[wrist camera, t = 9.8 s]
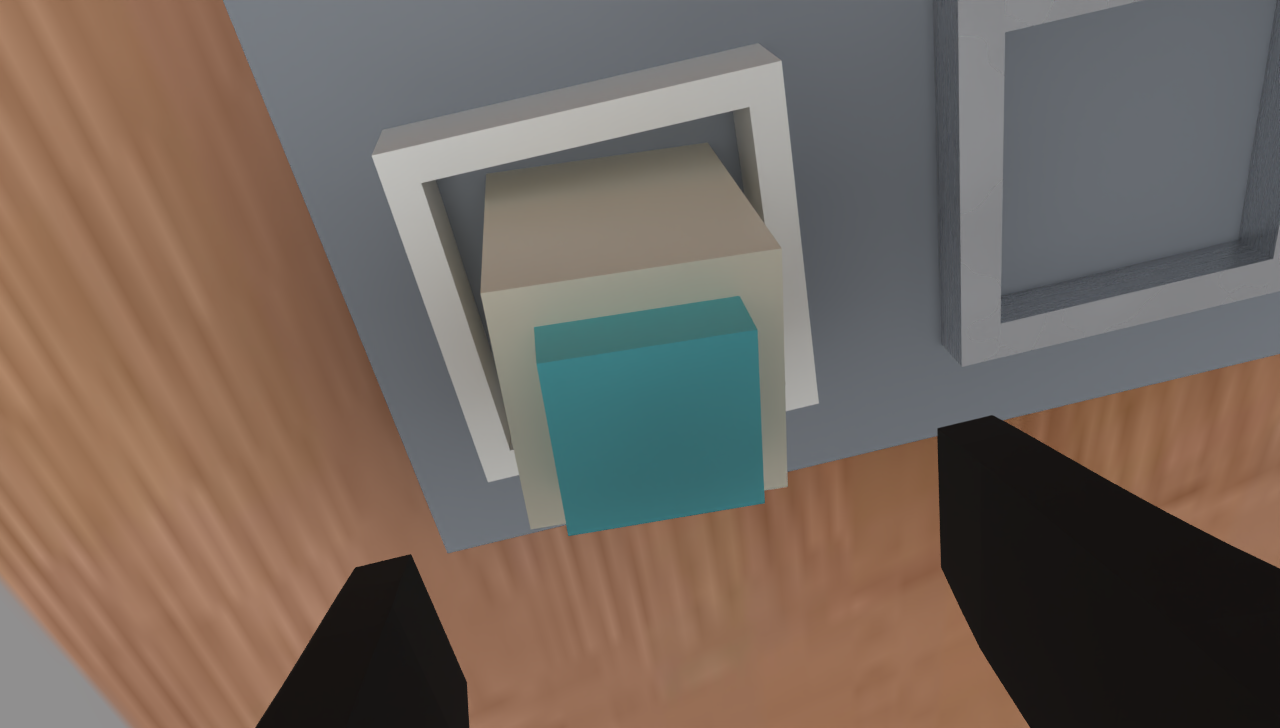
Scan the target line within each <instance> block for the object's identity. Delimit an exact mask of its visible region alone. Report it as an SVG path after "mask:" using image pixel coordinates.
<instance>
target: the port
mask: <svg viewBox="0 0 1280 728" xmlns="http://www.w3.org/2000/svg"><path fill="white" fill-rule="evenodd" d="M730 111H733V116H734V123H735V130H736V138H737V145H738V152H739V159H740V166H741V173H742V180H743V188H744V195H745V197H746V198H747V199H748V201H749V202H750V204H751V205H752V207H753V208H754V209H755V211H756V212H757V214H758V215H759V216H760V218H761V219H762V221H763V222H764V224H765V225H766V226H767V228H768V229H769V231H770V232H771V234H772V235H773V236H774V238H775V239H776V241H777V242H778V244H779V245H780V246H781V248H782V276H783V317H784V358H785V399H786V411H789V410H794V409H798V408H802V407H806V406H810V405H815V404H819V400H818V391H817V381H816V372H815V363H814V354H813V345H812V335H811V326H810V317H809V308H808V299H807V289H806V280H805V271H804V262H803V253H802V243H801V234H800V225H799V216H798V207H797V198H796V188H795V179H794V170H793V161H792V152H791V142H790V133H789V124H788V115H787V106H786V96H785V87H784V78H783V69H782V61H781V60H780V59H779V58H777V57H776V56H775V55H773V54H772V53H771V52H769V51H768V50H767V49H765V48H764V47H763V46H761V45H760V44H759V43H757V44H752V45H748V46H744V47H739V48H735V49H731V50H726V51H722V52H718V53H713V54H709V55H705V56H700V57H696V58H692V59H687V60H683V61H679V62H674V63H670V64H666V65H661V66H657V67H653V68H648V69H644V70H640V71H635V72H631V73H627V74H622V75H618V76H614V77H609V78H605V79H601V80H596V81H592V82H588V83H583V84H579V85H575V86H570V87H566V88H562V89H557V90H553V91H549V92H544V93H540V94H536V95H531V96H527V97H523V98H518V99H514V100H510V101H505V102H501V103H497V104H492V105H488V106H484V107H479V108H475V109H471V110H466V111H462V112H458V113H453V114H449V115H445V116H440V117H436V118H432V119H427V120H423V121H419V122H414V123H410V124H406V125H401V126H397V127H393V128H388V129H384V130H382V132H381V135H380V137H379V139H378V142H377V144H376V146H375V149H374V151H373V154H372V158H373V161H374V164H375V167H376V169H377V172H378V175H379V178H380V181H381V183H382V186H383V189H384V192H385V195H386V197H387V200H388V203H389V206H390V209H391V211H392V214H393V217H394V220H395V223H396V226H397V228H398V231H399V234H400V237H401V240H402V242H403V245H404V248H405V251H406V254H407V256H408V259H409V262H410V265H411V268H412V270H413V273H414V276H415V279H416V282H417V284H418V287H419V290H420V293H421V296H422V299H423V301H424V304H425V307H426V310H427V313H428V315H429V318H430V321H431V324H432V327H433V329H434V332H435V335H436V338H437V341H438V343H439V346H440V349H441V352H442V355H443V357H444V360H445V363H446V366H447V369H448V372H449V374H450V377H451V380H452V383H453V386H454V388H455V391H456V394H457V397H458V400H459V402H460V405H461V408H462V411H463V414H464V416H465V419H466V422H467V425H468V428H469V430H470V433H471V436H472V439H473V442H474V445H475V447H476V450H477V453H478V456H479V459H480V461H481V464H482V467H483V470H484V473H485V475H486V478H487V481H488V482H492V481H496V480H500V479H504V478H509V477H513V476H517V475H519V472H518V467H517V463H516V458H515V453H514V449H513V444H512V439H511V435H510V430H509V425H508V421H507V416H506V411H505V406H504V402H503V397H502V392H501V388H500V383H499V378H498V374H497V369H496V365H495V362H494V359H493V356H492V353H491V350H490V347H489V344H488V340H487V337H486V334H485V331H484V328H483V325H482V322H481V319H480V316H479V313H478V309H477V306H476V303H475V300H474V297H473V294H472V291H471V288H470V285H469V282H468V279H467V275H466V272H465V269H464V266H463V263H462V260H461V257H460V254H459V251H458V248H457V244H456V241H455V238H454V235H453V232H452V229H451V226H450V223H449V220H448V217H447V214H446V210H445V207H444V204H443V201H442V198H441V195H440V192H439V189H438V186H437V183H436V180H437V179H441V178H445V177H450V176H454V175H458V174H463V173H467V172H471V171H475V170H480V169H484V168H488V167H493V166H497V165H501V164H506V163H510V162H514V161H518V160H523V159H527V158H531V157H536V156H540V155H544V154H549V153H553V152H557V151H562V150H566V149H570V148H574V147H579V146H583V145H587V144H592V143H596V142H600V141H605V140H609V139H613V138H618V137H622V136H626V135H630V134H635V133H639V132H643V131H648V130H652V129H656V128H661V127H665V126H669V125H674V124H678V123H682V122H686V121H691V120H695V119H699V118H704V117H708V116H712V115H717V114H721V113H725V112H730Z"/></svg>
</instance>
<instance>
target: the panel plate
mask: <svg viewBox="0 0 1280 728" xmlns="http://www.w3.org/2000/svg"><path fill="white" fill-rule="evenodd" d="M223 2H224V4H225V7H226V9H227V11H228V14H229V16H230V19H231V21H232V24H233V26H234V29H235V31H236V34H237V36H238V39H239V41H240V43H241V46H242V48H243V51H244V53H245V56H246V58H247V61H248V63H249V66H250V68H251V70H252V73H253V75H254V78H255V80H256V83H257V85H258V88H259V90H260V93H261V95H262V98H263V100H264V102H265V105H266V107H267V110H268V112H269V115H270V117H271V120H272V122H273V125H274V127H275V130H276V132H277V134H278V137H279V139H280V142H281V144H282V147H283V149H284V152H285V154H286V157H287V159H288V162H289V164H290V166H291V169H292V171H293V174H294V176H295V179H296V181H297V184H298V186H299V189H300V191H301V194H302V196H303V198H304V201H305V203H306V206H307V208H308V211H309V213H310V216H311V218H312V221H313V223H314V225H315V228H316V230H317V233H318V235H319V238H320V240H321V243H322V245H323V248H324V250H325V253H326V255H327V257H328V260H329V262H330V265H331V267H332V270H333V272H334V275H335V277H336V280H337V282H338V285H339V287H340V289H341V292H342V294H343V297H344V299H345V302H346V304H347V307H348V309H349V312H350V314H351V317H352V319H353V321H354V324H355V326H356V329H357V331H358V334H359V336H360V339H361V341H362V344H363V346H364V349H365V351H366V353H367V356H368V358H369V361H370V363H371V366H372V368H373V371H374V373H375V376H376V378H377V380H378V383H379V385H380V388H381V390H382V393H383V395H384V398H385V400H386V403H387V405H388V408H389V410H390V412H391V415H392V417H393V420H394V422H395V425H396V427H397V430H398V432H399V435H400V437H401V440H402V442H403V444H404V447H405V449H406V452H407V454H408V457H409V459H410V462H411V464H412V467H413V469H414V472H415V474H416V476H417V479H418V481H419V484H420V486H421V489H422V491H423V494H424V496H425V499H426V501H427V504H428V506H429V508H430V511H431V513H432V516H433V518H434V521H435V523H436V526H437V528H438V531H439V533H440V535H441V538H442V540H443V543H444V545H445V548H446V550H447V553H451V552H455V551H459V550H463V549H468V548H472V547H476V546H480V545H484V544H488V543H493V542H497V541H501V540H505V539H509V538H513V537H518V536H522V535H526V534H530V533H534V532H539V531H543V530H547V529H551V528H555V527H559V526H564V525H566V524H561V525H555V526H549V527H543V528H537V529H530V524H529V519H528V514H527V510H526V505H525V500H524V496H523V491H522V486H521V482H520V477H519V475H517V476H513V477H509V478H504V479H500V480H496V481H492V482H488V481H487V478H486V475H485V473H484V470H483V467H482V464H481V461H480V459H479V456H478V453H477V450H476V447H475V445H474V442H473V439H472V436H471V433H470V430H469V428H468V425H467V422H466V419H465V416H464V414H463V411H462V408H461V405H460V402H459V400H458V397H457V394H456V391H455V388H454V386H453V383H452V380H451V377H450V374H449V372H448V369H447V366H446V363H445V360H444V357H443V355H442V352H441V349H440V346H439V343H438V341H437V338H436V335H435V332H434V329H433V327H432V324H431V321H430V318H429V315H428V313H427V310H426V307H425V304H424V301H423V299H422V296H421V293H420V290H419V287H418V284H417V282H416V279H415V276H414V273H413V270H412V268H411V265H410V262H409V259H408V256H407V254H406V251H405V248H404V245H403V242H402V240H401V237H400V234H399V231H398V228H397V226H396V223H395V220H394V217H393V214H392V211H391V209H390V206H389V203H388V200H387V197H386V195H385V192H384V189H383V186H382V183H381V181H380V178H379V175H378V172H377V169H376V167H375V164H374V161H373V158H372V154H373V151H374V149H375V146H376V144H377V142H378V139H379V137H380V135H381V132H382V130H384V129H388V128H393V127H397V126H401V125H406V124H410V123H414V122H419V121H423V120H427V119H432V118H436V117H440V116H445V115H449V114H453V113H458V112H462V111H466V110H471V109H475V108H479V107H484V106H488V105H492V104H497V103H501V102H505V101H510V100H514V99H518V98H523V97H527V96H531V95H536V94H540V93H544V92H549V91H553V90H557V89H562V88H566V87H570V86H575V85H579V84H583V83H588V82H592V81H596V80H601V79H605V78H609V77H614V76H618V75H622V74H627V73H631V72H635V71H640V70H644V69H648V68H653V67H657V66H661V65H666V64H670V63H674V62H679V61H683V60H687V59H692V58H696V57H700V56H705V55H709V54H713V53H718V52H722V51H726V50H731V49H735V48H739V47H744V46H748V45H752V44H757V43H759V44H760V45H761V46H763V47H764V48H765V49H767V50H768V51H769V52H771V53H772V54H773V55H775V56H776V57H777V58H779V59H780V60H781V61H782V69H783V78H784V87H785V96H786V106H787V115H788V124H789V133H790V142H791V152H792V161H793V170H794V179H795V188H796V198H797V207H798V216H799V225H800V234H801V243H802V253H803V262H804V271H805V280H806V289H807V299H808V308H809V317H810V326H811V335H812V345H813V354H814V363H815V372H816V381H817V391H818V400H819V404H815V405H810V406H806V407H802V408H798V409H794V410H789V411H786V440H787V472H789V471H793V470H797V469H801V468H806V467H810V466H814V465H818V464H822V463H826V462H831V461H835V460H839V459H843V458H847V457H851V456H856V455H860V454H864V453H868V452H872V451H876V450H881V449H885V448H889V447H893V446H897V445H901V444H906V443H910V442H914V441H918V440H922V439H926V438H931V437H935V436H937V428H940V427H944V426H948V425H953V424H957V423H961V422H965V421H969V420H974V419H978V418H982V417H986V416H990V415H993V416H995V417H997V418H999V419H1001V420H1006V419H1010V418H1014V417H1018V416H1022V415H1027V414H1031V413H1035V412H1039V411H1043V410H1047V409H1052V408H1056V407H1060V406H1064V405H1068V404H1072V403H1077V402H1081V401H1085V400H1089V399H1093V398H1098V397H1102V396H1106V395H1110V394H1114V393H1118V392H1123V391H1127V390H1131V389H1135V388H1139V387H1143V386H1148V385H1152V384H1156V383H1160V382H1164V381H1168V380H1173V379H1177V378H1181V377H1185V376H1189V375H1193V374H1198V373H1202V372H1206V371H1210V370H1214V369H1219V368H1223V367H1227V366H1231V365H1235V364H1239V363H1244V362H1248V361H1252V360H1256V359H1260V358H1264V357H1269V356H1273V355H1277V354H1280V291H1278V292H1274V293H1270V294H1266V295H1262V296H1257V297H1253V298H1249V299H1245V300H1241V301H1236V302H1232V303H1228V304H1224V305H1220V306H1215V307H1211V308H1207V309H1203V310H1199V311H1194V312H1190V313H1186V314H1182V315H1178V316H1173V317H1169V318H1165V319H1161V320H1157V321H1153V322H1148V323H1144V324H1140V325H1136V326H1132V327H1127V328H1123V329H1119V330H1115V331H1111V332H1106V333H1102V334H1098V335H1094V336H1090V337H1085V338H1081V339H1077V340H1073V341H1069V342H1064V343H1060V344H1056V345H1052V346H1048V347H1043V348H1039V349H1035V350H1031V351H1027V352H1023V353H1018V354H1014V355H1010V356H1006V357H1002V358H997V359H993V360H989V361H985V362H981V363H976V364H972V365H968V366H964V367H961V366H960V364H959V363H958V362H957V361H956V360H955V359H954V358H953V357H952V355H951V354H950V353H949V352H948V351H947V350H946V349H945V348H944V346H943V345H942V344H941V324H940V282H939V240H938V198H937V156H936V114H935V71H934V29H933V0H223ZM1275 7H1276V0H1142V1H1138V2H1134V3H1129V4H1125V5H1121V6H1116V7H1112V8H1108V9H1103V10H1099V11H1095V12H1091V13H1086V14H1082V15H1078V16H1073V17H1069V18H1065V19H1060V20H1056V21H1052V22H1047V23H1043V24H1039V25H1034V26H1030V27H1026V28H1022V29H1017V30H1013V31H1009V32H1005V70H1004V135H1003V200H1002V264H1001V296H1004V295H1008V294H1012V293H1017V292H1021V291H1025V290H1029V289H1034V288H1038V287H1042V286H1046V285H1050V284H1055V283H1059V282H1063V281H1067V280H1071V279H1076V278H1080V277H1084V276H1088V275H1093V274H1097V273H1101V272H1105V271H1109V270H1114V269H1118V268H1122V267H1126V266H1131V265H1135V264H1139V263H1143V262H1147V261H1152V260H1156V259H1160V258H1164V257H1168V256H1173V255H1177V254H1181V253H1185V252H1190V251H1194V250H1198V249H1202V248H1206V247H1211V246H1215V245H1219V244H1223V243H1227V242H1232V241H1236V240H1238V236H1239V229H1240V223H1241V217H1242V211H1243V205H1244V199H1245V192H1246V186H1247V180H1248V174H1249V168H1250V161H1251V155H1252V149H1253V143H1254V137H1255V130H1256V124H1257V118H1258V112H1259V106H1260V99H1261V93H1262V87H1263V81H1264V75H1265V69H1266V62H1267V56H1268V50H1269V44H1270V38H1271V31H1272V25H1273V19H1274V13H1275ZM701 143H708V144H709V145H710V147H711V148H712V149H713V151H714V152H715V154H716V155H717V157H718V158H719V159H720V161H721V162H722V164H723V165H724V167H725V168H726V169H727V171H728V172H729V174H730V175H731V177H732V178H733V179H734V181H735V182H736V184H737V185H738V187H739V188H740V189H741V191H742V192H743V194H744V188H743V180H742V173H741V166H740V159H739V152H738V145H737V138H736V130H735V123H734V116H733V111H730V112H725V113H721V114H717V115H712V116H708V117H704V118H699V119H695V120H691V121H686V122H682V123H678V124H674V125H669V126H665V127H661V128H656V129H652V130H648V131H643V132H639V133H635V134H630V135H626V136H622V137H618V138H613V139H609V140H605V141H600V142H596V143H592V144H587V145H583V146H579V147H574V148H570V149H566V150H562V151H557V152H553V153H549V154H544V155H540V156H536V157H531V158H527V159H523V160H518V161H514V162H510V163H506V164H501V165H497V166H493V167H488V168H484V169H480V170H475V171H471V172H467V173H463V174H458V175H454V176H450V177H445V178H441V179H437V180H436V183H437V186H438V189H439V192H440V195H441V198H442V201H443V204H444V207H445V210H446V214H447V217H448V220H449V223H450V226H451V229H452V232H453V235H454V238H455V241H456V244H457V248H458V251H459V254H460V257H461V260H462V263H463V266H464V269H465V272H466V275H467V279H468V282H469V285H470V288H471V291H472V294H473V297H474V300H475V303H476V306H477V309H478V313H479V316H480V319H481V322H482V325H483V328H484V331H485V334H486V337H487V340H488V344H489V347H490V350H491V353H492V356H493V359H494V355H493V350H492V345H491V341H490V336H489V331H488V327H487V322H486V317H485V313H484V308H483V303H482V299H481V294H480V292H481V271H482V250H483V229H484V208H485V187H486V174H488V173H495V172H503V171H510V170H517V169H524V168H531V167H538V166H545V165H552V164H559V163H566V162H573V161H580V160H587V159H594V158H602V157H609V156H616V155H623V154H630V153H637V152H644V151H651V150H658V149H665V148H672V147H679V146H686V145H693V144H701ZM494 362H495V360H494ZM495 365H496V364H495Z"/></svg>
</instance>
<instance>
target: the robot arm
mask: <svg viewBox="0 0 1280 728" xmlns="http://www.w3.org/2000/svg"><path fill="white" fill-rule="evenodd" d="M937 436H938V472H939V508H940V544H941V568H942V570H943V572H944V574H945V577H946V579H947V581H948V583H949V585H950V587H951V589H952V591H953V594H954V596H955V598H956V600H957V602H958V604H959V606H960V609H961V611H962V613H963V615H964V617H965V619H966V621H967V623H968V625H969V627H970V629H971V631H972V633H973V635H974V637H975V639H976V641H977V643H978V645H979V647H980V649H981V651H982V652H983V654H984V656H985V657H986V659H987V660H988V662H989V664H990V665H991V667H992V668H993V670H994V672H995V673H996V675H997V676H998V678H999V679H1000V681H1001V683H1002V684H1003V686H1004V687H1005V689H1006V690H1007V692H1008V694H1009V695H1010V697H1011V698H1012V700H1013V701H1014V703H1015V705H1016V706H1017V708H1018V709H1019V711H1020V712H1021V714H1022V716H1023V717H1024V719H1025V720H1026V722H1027V723H1028V725H1029V726H1030V728H1280V569H1279V568H1277V567H1275V566H1273V565H1271V564H1269V563H1267V562H1265V561H1263V560H1261V559H1259V558H1256V557H1254V556H1252V555H1250V554H1248V553H1246V552H1244V551H1242V550H1240V549H1238V548H1236V547H1233V546H1231V545H1229V544H1227V543H1225V542H1223V541H1221V540H1219V539H1218V538H1216V537H1214V536H1212V535H1210V534H1208V533H1206V532H1204V531H1202V530H1200V529H1198V528H1196V527H1194V526H1192V525H1190V524H1188V523H1186V522H1184V521H1182V520H1181V519H1179V518H1177V517H1175V516H1173V515H1171V514H1169V513H1167V512H1165V511H1163V510H1162V509H1160V508H1158V507H1156V506H1154V505H1152V504H1151V503H1149V502H1147V501H1145V500H1143V499H1141V498H1139V497H1138V496H1136V495H1134V494H1132V493H1130V492H1128V491H1127V490H1125V489H1123V488H1121V487H1119V486H1118V485H1116V484H1114V483H1112V482H1110V481H1109V480H1107V479H1105V478H1103V477H1102V476H1100V475H1098V474H1096V473H1094V472H1093V471H1091V470H1089V469H1087V468H1086V467H1084V466H1082V465H1080V464H1079V463H1077V462H1075V461H1073V460H1072V459H1070V458H1068V457H1066V456H1065V455H1063V454H1061V453H1059V452H1058V451H1056V450H1054V449H1052V448H1051V447H1049V446H1047V445H1045V444H1044V443H1042V442H1040V441H1038V440H1037V439H1035V438H1033V437H1031V436H1030V435H1028V434H1026V433H1024V432H1023V431H1021V430H1019V429H1017V428H1015V427H1014V426H1012V425H1010V424H1008V423H1006V422H1005V421H1003V420H1001V419H999V418H997V417H995V416H993V415H990V416H986V417H982V418H978V419H974V420H969V421H965V422H961V423H957V424H953V425H948V426H944V427H940V428H937ZM255 728H469V714H468V696H467V682H466V679H465V677H464V675H463V672H462V670H461V668H460V666H459V663H458V661H457V659H456V656H455V654H454V652H453V649H452V647H451V645H450V643H449V640H448V638H447V636H446V633H445V631H444V629H443V626H442V624H441V622H440V620H439V617H438V615H437V613H436V610H435V608H434V606H433V603H432V601H431V599H430V597H429V594H428V592H427V590H426V587H425V585H424V583H423V580H422V578H421V576H420V574H419V571H418V569H417V567H416V564H415V562H414V560H413V557H412V555H411V554H410V555H406V556H402V557H397V558H393V559H389V560H385V561H381V562H377V563H372V564H368V565H364V566H360V567H356V568H355V569H354V570H353V572H352V574H351V575H350V577H349V578H348V580H347V581H346V583H345V584H344V586H343V588H342V589H341V591H340V592H339V594H338V595H337V597H336V599H335V600H334V602H333V604H332V605H331V607H330V608H329V610H328V612H327V613H326V615H325V617H324V618H323V620H322V622H321V623H320V625H319V627H318V628H317V630H316V632H315V633H314V635H313V636H312V638H311V640H310V641H309V643H308V645H307V646H306V648H305V650H304V651H303V653H302V655H301V656H300V658H299V659H298V661H297V663H296V664H295V666H294V668H293V669H292V671H291V672H290V674H289V676H288V677H287V679H286V681H285V682H284V684H283V685H282V687H281V688H280V690H279V692H278V693H277V695H276V696H275V698H274V699H273V701H272V702H271V704H270V706H269V707H268V709H267V710H266V712H265V713H264V715H263V717H262V718H261V720H260V721H259V723H258V724H257V726H256V727H255Z"/></svg>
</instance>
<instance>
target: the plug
mask: <svg viewBox="0 0 1280 728" xmlns="http://www.w3.org/2000/svg"><path fill="white" fill-rule="evenodd" d="M480 294H481V299H482V303H483V308H484V313H485V317H486V322H487V327H488V331H489V336H490V341H491V345H492V350H493V355H494V360H495V364H496V369H497V374H498V378H499V383H500V388H501V392H502V397H503V402H504V406H505V411H506V416H507V421H508V425H509V430H510V435H511V439H512V444H513V449H514V453H515V458H516V463H517V467H518V472H519V477H520V482H521V486H522V491H523V496H524V500H525V505H526V510H527V514H528V519H529V524H530V529H537V528H543V527H549V526H555V525H561V524H566V526H567V531H568V536H572V535H578V534H584V533H590V532H596V531H602V530H608V529H614V528H620V527H626V526H632V525H638V524H643V523H649V522H655V521H661V520H667V519H673V518H679V517H685V516H691V515H697V514H703V513H709V512H715V511H721V510H727V509H733V508H739V507H745V506H751V505H757V504H763V503H765V498H764V491H765V490H771V489H777V488H783V487H788V481H787V440H786V399H785V358H784V317H783V276H782V248H781V246H780V245H779V244H778V242H777V241H776V239H775V238H774V236H773V235H772V234H771V232H770V231H769V229H768V228H767V226H766V225H765V224H764V222H763V221H762V219H761V218H760V216H759V215H758V214H757V212H756V211H755V209H754V208H753V207H752V205H751V204H750V202H749V201H748V199H747V198H746V197H745V195H744V194H743V192H742V191H741V189H740V188H739V187H738V185H737V184H736V182H735V181H734V179H733V178H732V177H731V175H730V174H729V172H728V171H727V169H726V168H725V167H724V165H723V164H722V162H721V161H720V159H719V158H718V157H717V155H716V154H715V152H714V151H713V149H712V148H711V147H710V145H709V144H708V143H701V144H693V145H686V146H679V147H672V148H665V149H658V150H651V151H644V152H637V153H630V154H623V155H616V156H609V157H602V158H594V159H587V160H580V161H573V162H566V163H559V164H552V165H545V166H538V167H531V168H524V169H517V170H510V171H503V172H495V173H488V174H486V187H485V208H484V229H483V250H482V271H481V292H480Z"/></svg>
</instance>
